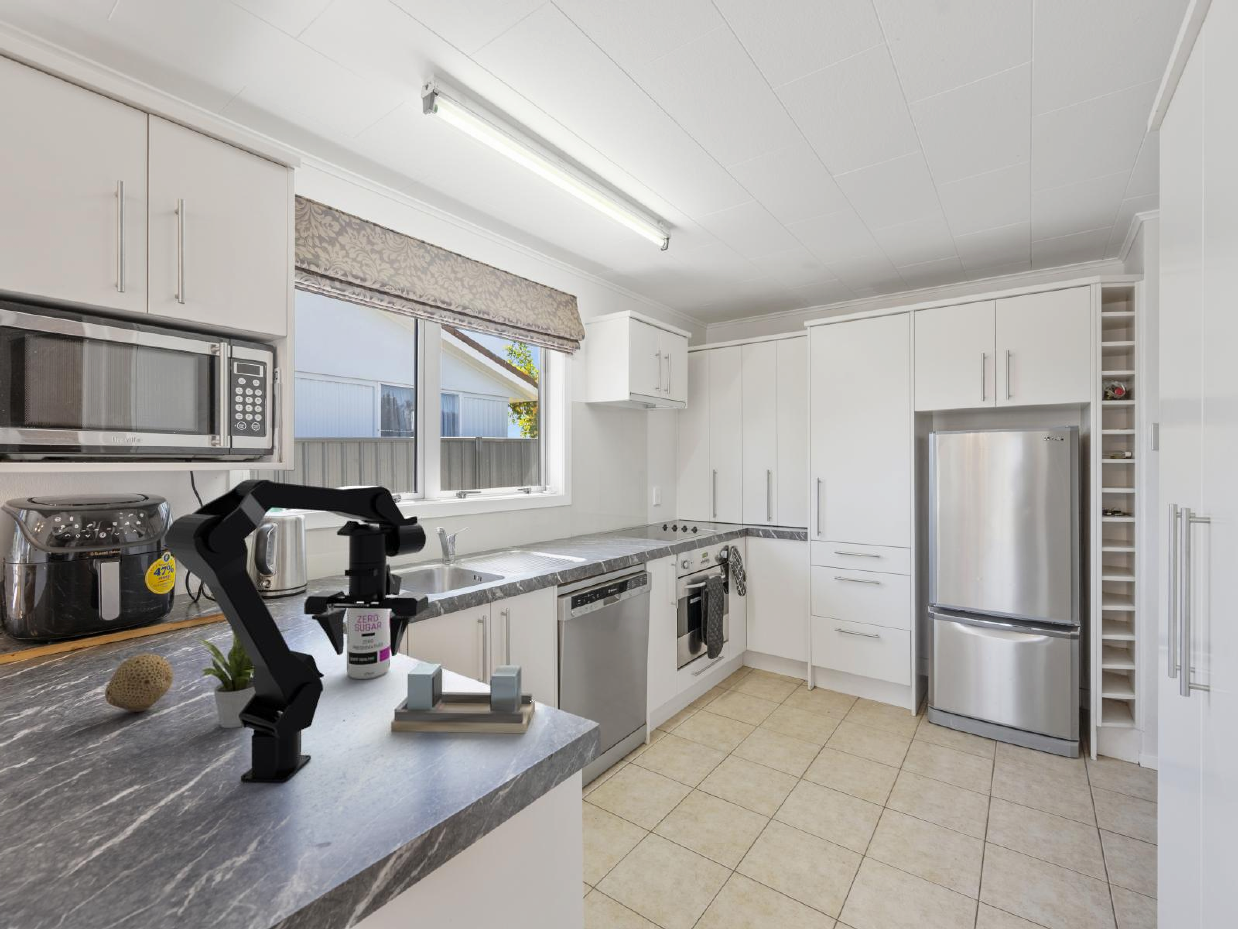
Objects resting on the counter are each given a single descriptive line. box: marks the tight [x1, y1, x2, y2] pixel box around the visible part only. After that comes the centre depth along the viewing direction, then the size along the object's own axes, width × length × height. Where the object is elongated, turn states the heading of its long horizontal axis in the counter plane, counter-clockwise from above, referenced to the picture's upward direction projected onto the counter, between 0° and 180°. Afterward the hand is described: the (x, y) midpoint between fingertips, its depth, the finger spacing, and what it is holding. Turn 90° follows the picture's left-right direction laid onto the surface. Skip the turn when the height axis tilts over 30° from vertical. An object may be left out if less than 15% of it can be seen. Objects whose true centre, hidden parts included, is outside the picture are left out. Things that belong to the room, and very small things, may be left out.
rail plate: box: [390, 664, 536, 734], centre depth 98 cm, size 9×22×8 cm, turn 88°
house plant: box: [195, 625, 293, 729], centre depth 97 cm, size 14×14×16 cm
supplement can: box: [346, 602, 391, 680], centre depth 120 cm, size 8×8×15 cm
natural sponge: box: [104, 653, 174, 713], centre depth 101 cm, size 9×9×10 cm
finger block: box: [406, 663, 443, 710], centre depth 98 cm, size 5×4×7 cm
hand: (367, 654), depth 95 cm, fingers open, 9 cm apart
